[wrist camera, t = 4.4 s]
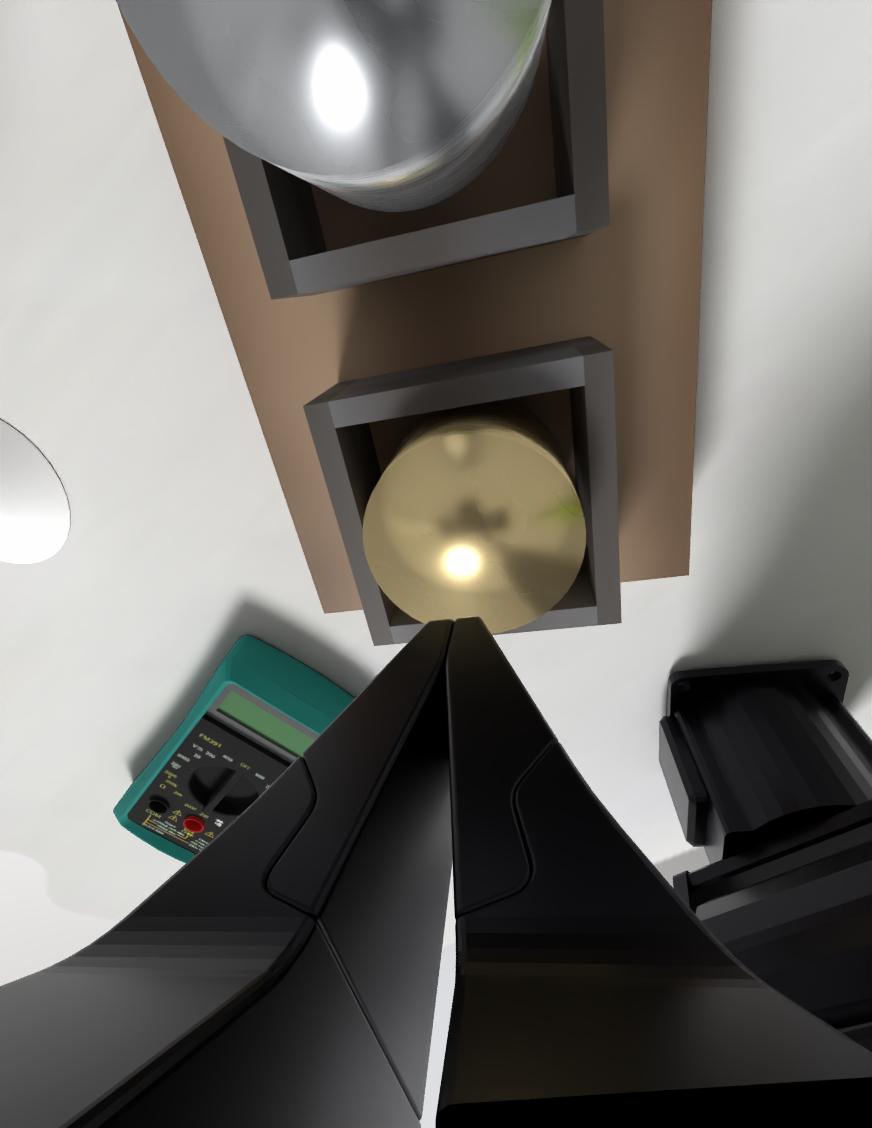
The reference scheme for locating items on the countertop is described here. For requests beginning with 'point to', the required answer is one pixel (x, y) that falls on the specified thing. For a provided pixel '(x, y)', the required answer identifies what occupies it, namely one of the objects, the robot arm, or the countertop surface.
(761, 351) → the countertop surface
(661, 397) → the knob console
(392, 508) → the brass knob
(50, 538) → the champagne flute
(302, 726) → the digital multimeter
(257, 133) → the steel knob
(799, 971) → the robot arm
